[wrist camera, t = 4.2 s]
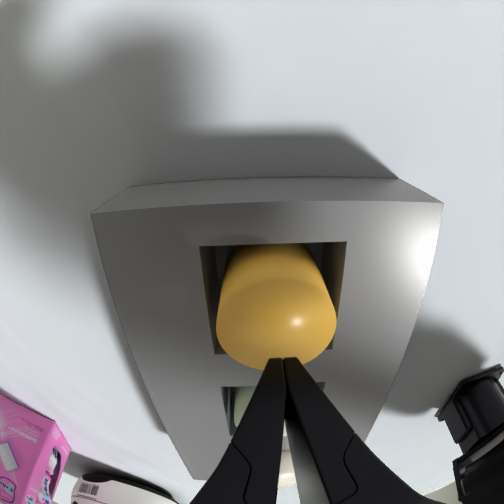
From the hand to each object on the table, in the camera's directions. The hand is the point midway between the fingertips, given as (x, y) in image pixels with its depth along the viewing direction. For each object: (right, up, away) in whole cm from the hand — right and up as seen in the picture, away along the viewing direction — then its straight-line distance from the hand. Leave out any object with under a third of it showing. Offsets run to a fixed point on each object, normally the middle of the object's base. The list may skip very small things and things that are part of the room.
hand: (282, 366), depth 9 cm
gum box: (-35, -17, +16) cm, 42 cm away
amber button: (0, +2, +5) cm, 6 cm away
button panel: (0, -4, +10) cm, 10 cm away
